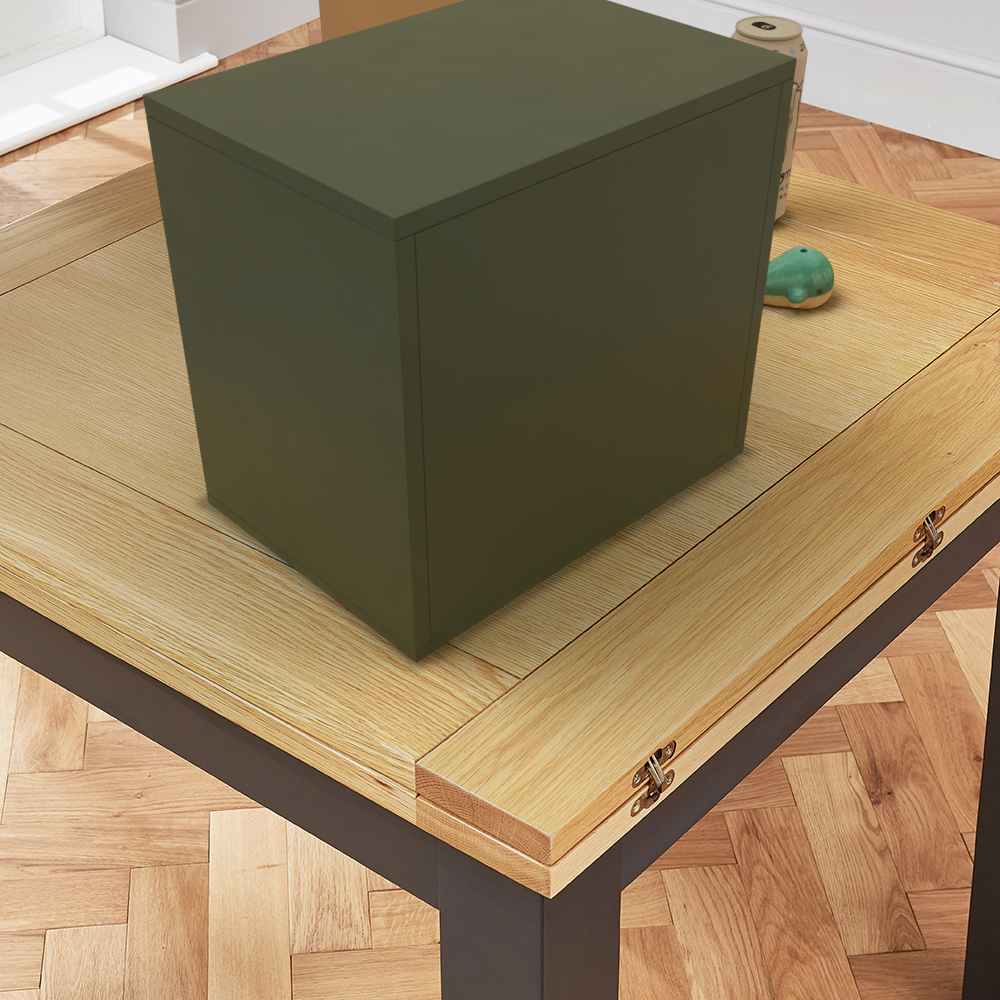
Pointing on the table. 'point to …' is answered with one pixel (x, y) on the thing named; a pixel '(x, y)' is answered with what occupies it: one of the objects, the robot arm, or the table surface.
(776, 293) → the whale figurine
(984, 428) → the table surface
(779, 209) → the energy drink can
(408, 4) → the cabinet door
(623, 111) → the cabinet
